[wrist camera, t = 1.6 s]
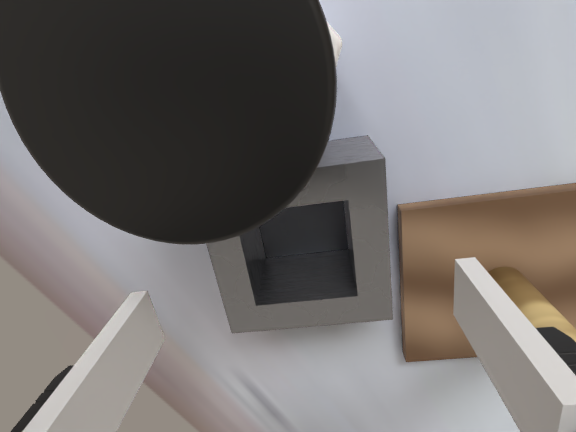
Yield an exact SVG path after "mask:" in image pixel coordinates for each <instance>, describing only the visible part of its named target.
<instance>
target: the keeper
mask: <svg viewBox="0 0 576 432" xmlns="http://www.w3.org/2000/svg"><path fill="white" fill-rule="evenodd" d="M397 206H398V233H399V261H400V289H401V316H402V344H403V354H404V357H405V360H406V362H415V361H428V360H442V359H456V358H470V357H477V355H476V353H475V351H474V350H473V348H472V346H471V344H470V343H469V341H468V339H467V337H466V336H465V334H464V332H463V330H462V329H461V327H460V325H459V323H458V322H457V320H456V318H455V316H454V315H453V311H454V276H455V259H462V258H472V257H475V258H476V259H477V260H478V261H479V263H480V264H481V265H482V266H483V267H484V268H485V270H486V271H487V272H488V273H489V274H490V275H491V277H492V278H493V279H494V280H495V281H496V282H497V284H498V285H499V286H500V287H501V288H502V290H503V291H504V292H505V293H506V294H507V295H508V297H509V298H510V299H511V300H512V301H513V302H514V304H515V305H516V306H517V307H518V308H519V309H520V311H521V312H522V313H523V314H524V315H525V317H526V318H527V319H528V320H529V321H530V322H531V324H532V325H533V326H534V327H535V328H541V327H555V328H557V329H558V330H560V331H561V332H563V333H565V334H566V335H568V336H570V337H571V338H572V339H573V340H574V341H575V342H576V183H572V184H563V185H555V186H547V187H539V188H530V189H522V190H514V191H506V192H498V193H489V194H481V195H473V196H465V197H456V198H448V199H440V200H432V201H424V202H415V203H407V204H399V205H397Z"/></svg>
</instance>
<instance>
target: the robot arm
mask: <svg viewBox="0 0 576 432" xmlns="http://www.w3.org/2000/svg"><path fill="white" fill-rule="evenodd" d="M453 315H454V316H455V318H456V320H457V322H458V323H459V325H460V327H461V329H462V330H463V332H464V334H465V336H466V337H467V339H468V341H469V343H470V344H471V346H472V348H473V350H474V351H475V353H476V355H477V357H478V358H479V360H480V362H481V364H482V365H483V367H484V369H485V371H486V372H487V374H488V376H489V378H490V379H491V381H492V383H493V385H494V386H495V388H496V390H497V392H498V393H499V395H500V397H501V399H502V400H503V402H504V404H505V406H506V407H507V409H508V411H509V413H510V414H511V416H512V418H513V420H514V421H515V423H516V425H517V427H518V428H519V430H520V432H576V342H575V341H574V340H573V339H572V338H571V337H570V336H568V335H566V334H565V333H563V332H561V331H560V330H558V329H557V328H555V327H541V328H535V327H534V326H533V325H532V324H531V322H530V321H529V320H528V319H527V318H526V317H525V315H524V314H523V313H522V312H521V311H520V309H519V308H518V307H517V306H516V305H515V304H514V302H513V301H512V300H511V299H510V298H509V297H508V295H507V294H506V293H505V292H504V291H503V290H502V288H501V287H500V286H499V285H498V284H497V282H496V281H495V280H494V279H493V278H492V277H491V275H490V274H489V273H488V272H487V271H486V270H485V268H484V267H483V266H482V265H481V264H480V263H479V261H478V260H477V259H476V258H475V257H472V258H462V259H455V276H454V311H453ZM164 341H165V337H164V334H163V331H162V329H161V326H160V323H159V321H158V318H157V315H156V313H155V310H154V307H153V304H152V302H151V299H150V296H149V294H148V291H140V292H131V293H130V295H129V296H128V297H127V298H126V300H125V301H124V302H123V304H122V305H121V306H120V307H119V309H118V310H117V311H116V313H115V314H114V315H113V316H112V318H111V319H110V320H109V321H108V323H107V324H106V325H105V327H104V328H103V329H102V330H101V332H100V333H99V334H98V336H97V337H96V338H95V339H94V341H93V342H92V343H91V345H90V346H89V347H88V348H87V350H86V351H85V352H84V353H83V355H82V356H81V357H80V359H79V360H78V361H77V362H76V364H75V365H74V366H68V367H67V368H66V369H65V370H63V371H62V372H61V373H60V374H58V375H57V376H56V377H55V378H54V379H53V380H52V381H51V383H50V384H49V385H48V386H47V388H46V389H45V391H44V393H42V394H41V395H40V396H39V398H38V399H37V400H36V403H35V404H33V405H32V406H31V407H30V409H29V410H28V411H27V412H26V413H25V415H24V416H23V417H22V419H21V420H20V421H19V422H18V423H17V425H16V426H15V427H14V428H13V429H12V431H11V432H117V430H118V428H119V426H120V424H121V422H122V420H123V418H124V417H125V415H126V413H127V411H128V409H129V407H130V405H131V403H132V401H133V399H134V398H135V395H136V394H137V392H138V390H139V388H140V386H141V384H142V382H143V381H144V379H145V377H146V375H147V373H148V371H149V369H150V367H151V365H152V363H153V361H154V360H155V358H156V356H157V354H158V352H159V350H160V348H161V346H162V344H163V342H164Z"/></svg>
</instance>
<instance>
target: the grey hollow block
mask: <svg viewBox="0 0 576 432" xmlns="http://www.w3.org/2000/svg"><path fill="white" fill-rule="evenodd" d="M336 201H343V203H344V213H345V223H346V232H347V242H348V249H346V250H337V251H328V252H318V253H309V254H300V255H291V256H282V257H273V258H266V256H265V251H264V246H263V241H262V237H261V232H260V227H258V228H256V229H254V230H252V231H250V232H248V233H245V234H242V235H240V236H237V237H234V238H231V239H227V240H224V241H218V242H213V243H206V244H207V247H208V251H209V254H210V258H211V262H212V265H213V269H214V272H215V276H216V279H217V283H218V286H219V290H220V293H221V297H222V300H223V304H224V307H225V311H226V314H227V318H228V322H229V325H230V329H231V332H232V333H241V332H253V331H265V330H276V329H288V328H299V327H311V326H323V325H334V324H346V323H357V322H369V321H381V320H392V319H393V311H392V291H391V270H390V249H389V229H388V208H387V187H386V167H385V158H384V156H383V155H382V154H381V152H380V151H379V150H378V148H377V147H376V146H375V144H374V143H373V141H372V140H371V139H370V137H369V136H368V135H367V136H360V137H353V138H346V139H339V140H332V141H328V143H327V146H326V148H325V151H324V154H323V156H322V158H321V160H320V163H319V164H318V166H317V168H316V170H315V172H314V174H313V175H312V177H311V178H310V180H309V182H308V183H307V184H306V186H305V187H304V188H303V190H302V191H301V192H300V193H299V194H298V196H297V197H296V198H295V199H294V200H293V201H292V202H291V203H290V204H289V205H288V206H287V207H286V208H288V207H296V206H304V205H312V204H320V203H328V202H336Z"/></svg>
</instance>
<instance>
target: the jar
mask: <svg viewBox="0 0 576 432" xmlns="http://www.w3.org/2000/svg"><path fill="white" fill-rule="evenodd" d="M341 48H342V39H341V37H340V36H339V35H338V34H337V32H336V31H335V30H334V29H333V28H332V27H331V26H330V24H329V23H328V22H327V21H326V18H325V15H324V12H323V10H322V7H321V5H320V2H319V0H0V91H1V94H2V97H3V100H4V103H5V106H6V109H7V111H8V113H9V116H10V118H11V120H12V123H13V125H14V127H15V129H16V130H17V132H18V134H19V136H20V138H21V140H22V141H23V143H24V145H25V146H26V148H27V149H28V151H29V152H30V154H31V155H32V157H33V158H34V159H35V161H36V162H37V164H38V165H39V166H40V168H41V169H42V170H43V171H44V172H45V173H46V175H47V176H48V177H49V178H50V179H51V180H52V181H53V182H54V183H55V184H56V185H57V186H58V187H59V188H60V189H61V190H62V191H63V192H64V193H65V194H66V195H67V196H68V197H70V198H71V199H72V200H73V201H74V202H76V203H77V204H78V205H80V206H81V207H82V208H84V209H85V210H86V211H88V212H89V213H91V214H92V215H94V216H96V217H97V218H99V219H100V220H102V221H104V222H106V223H108V224H110V225H112V226H114V227H116V228H118V229H120V230H123V231H125V232H128V233H130V234H133V235H136V236H139V237H143V238H146V239H150V240H154V241H159V242H165V243H173V244H205V243H213V242H218V241H224V240H227V239H231V238H234V237H237V236H240V235H242V234H245V233H248V232H250V231H252V230H254V229H256V228H258V227H260V226H262V225H263V224H265V223H266V222H268V221H269V220H271V219H273V218H274V217H275V216H276V215H278V214H279V213H280V212H281V211H283V210H284V209H285V208H286V207H287V206H288V205H289V204H290V203H291V202H292V201H293V200H294V199H295V198H296V197H297V196H298V194H299V193H300V192H301V191H302V190H303V188H304V187H305V186H306V184H307V183H308V182H309V180H310V178H311V177H312V175H313V174H314V172H315V170H316V168H317V166H318V164H319V163H320V160H321V158H322V156H323V154H324V151H325V148H326V146H327V143H328V140H329V136H330V133H331V129H332V125H333V120H334V114H335V107H336V94H337V76H336V66H337V62H338V59H339V55H340V52H341Z"/></svg>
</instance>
